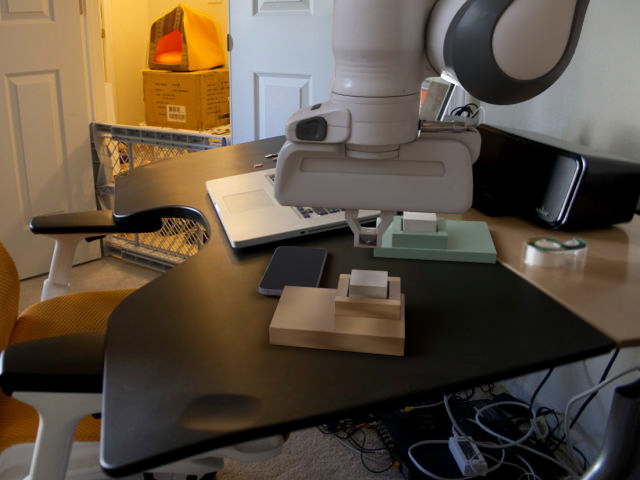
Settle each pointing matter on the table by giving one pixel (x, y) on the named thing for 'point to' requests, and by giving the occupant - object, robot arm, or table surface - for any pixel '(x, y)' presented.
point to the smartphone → (293, 269)
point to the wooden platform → (340, 319)
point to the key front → (368, 284)
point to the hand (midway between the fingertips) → (367, 246)
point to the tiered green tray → (439, 242)
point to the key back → (419, 222)
